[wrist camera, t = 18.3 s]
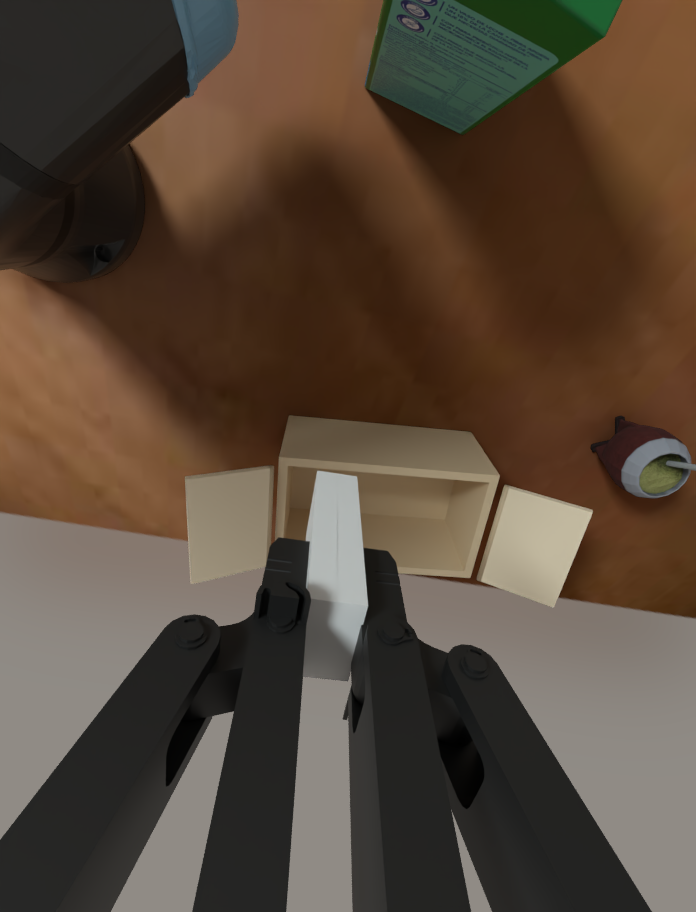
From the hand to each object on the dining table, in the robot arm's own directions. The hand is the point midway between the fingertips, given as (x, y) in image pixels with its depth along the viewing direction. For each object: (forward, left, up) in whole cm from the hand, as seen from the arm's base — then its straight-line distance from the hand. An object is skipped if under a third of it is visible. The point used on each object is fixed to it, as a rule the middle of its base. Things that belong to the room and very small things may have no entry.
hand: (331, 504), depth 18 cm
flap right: (+17, -15, -21) cm, 31 cm away
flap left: (-4, -15, -21) cm, 26 cm away
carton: (+6, -15, -32) cm, 36 cm away
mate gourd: (+33, -8, -32) cm, 47 cm away
